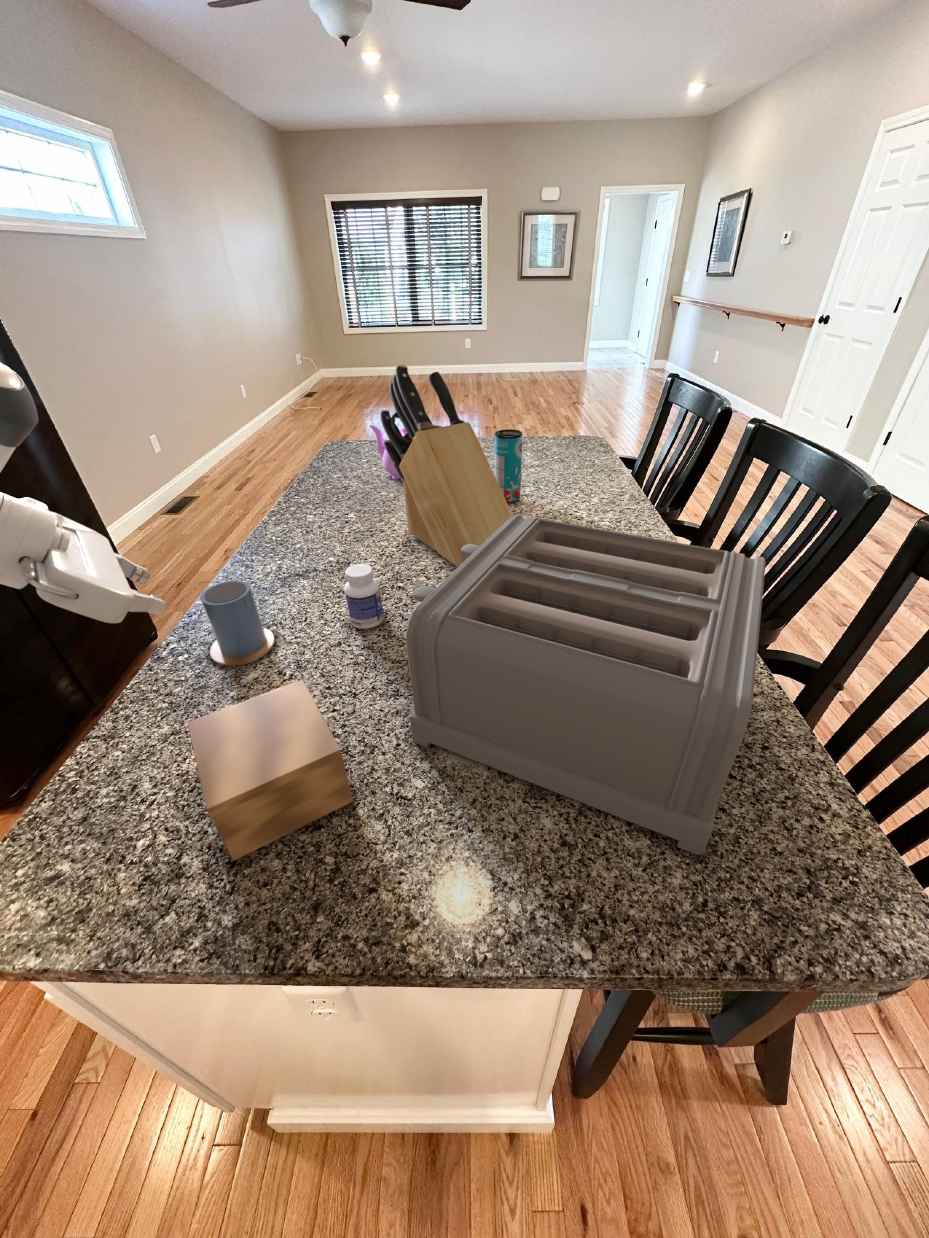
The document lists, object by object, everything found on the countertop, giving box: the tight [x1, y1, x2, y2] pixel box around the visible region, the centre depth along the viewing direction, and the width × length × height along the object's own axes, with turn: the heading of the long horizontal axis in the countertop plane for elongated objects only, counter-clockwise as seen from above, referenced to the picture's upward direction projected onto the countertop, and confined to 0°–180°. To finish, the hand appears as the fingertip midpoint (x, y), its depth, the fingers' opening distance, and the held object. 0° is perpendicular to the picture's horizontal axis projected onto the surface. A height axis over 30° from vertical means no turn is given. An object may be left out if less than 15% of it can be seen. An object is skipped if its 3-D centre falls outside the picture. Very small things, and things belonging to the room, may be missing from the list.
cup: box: [200, 579, 266, 658], centre depth 73 cm, size 6×6×9 cm
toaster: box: [405, 514, 767, 856], centre depth 60 cm, size 31×36×17 cm
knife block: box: [380, 364, 514, 568], centre depth 93 cm, size 11×35×31 cm, turn 33°
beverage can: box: [494, 428, 523, 505], centre depth 114 cm, size 6×6×15 cm
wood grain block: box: [186, 678, 354, 861], centre depth 53 cm, size 12×12×8 cm
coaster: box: [209, 627, 276, 667], centre depth 75 cm, size 9×9×1 cm
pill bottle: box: [343, 563, 385, 630], centre depth 78 cm, size 5×5×9 cm
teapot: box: [369, 424, 408, 480], centre depth 131 cm, size 20×14×12 cm
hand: (155, 591), depth 64 cm, fingers open, 8 cm apart
